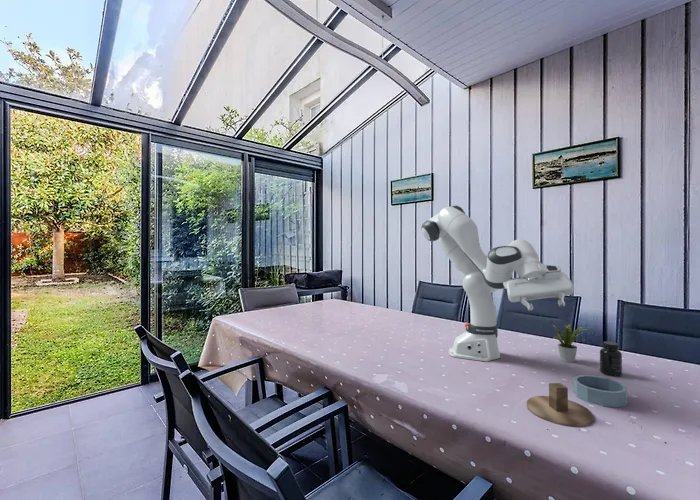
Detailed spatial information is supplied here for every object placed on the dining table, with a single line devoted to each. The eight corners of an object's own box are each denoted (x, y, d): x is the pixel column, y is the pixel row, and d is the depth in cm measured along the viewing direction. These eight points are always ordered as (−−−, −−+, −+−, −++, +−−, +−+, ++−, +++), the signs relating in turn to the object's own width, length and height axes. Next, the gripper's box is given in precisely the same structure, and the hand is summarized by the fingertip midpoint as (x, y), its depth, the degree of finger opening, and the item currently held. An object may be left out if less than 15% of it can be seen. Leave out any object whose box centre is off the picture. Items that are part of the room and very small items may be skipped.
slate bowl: (583, 404, 105) (583, 389, 105) (567, 386, 119) (567, 373, 119) (636, 409, 101) (636, 394, 101) (613, 390, 115) (613, 377, 115)
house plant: (597, 368, 135) (596, 328, 135) (559, 366, 138) (559, 326, 138) (580, 356, 149) (580, 320, 149) (546, 355, 152) (546, 319, 152)
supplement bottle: (595, 370, 133) (595, 340, 133) (611, 370, 133) (611, 340, 133) (610, 377, 126) (610, 345, 126) (626, 376, 126) (626, 345, 126)
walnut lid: (548, 428, 92) (548, 399, 92) (515, 400, 109) (515, 375, 109) (608, 426, 93) (608, 397, 93) (566, 398, 110) (566, 373, 110)
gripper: (501, 274, 120) (513, 306, 110) (564, 265, 115) (582, 297, 105) (501, 285, 124) (512, 316, 114) (562, 276, 119) (579, 308, 109)
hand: (546, 307), depth 110 cm, fingers open, 8 cm apart
